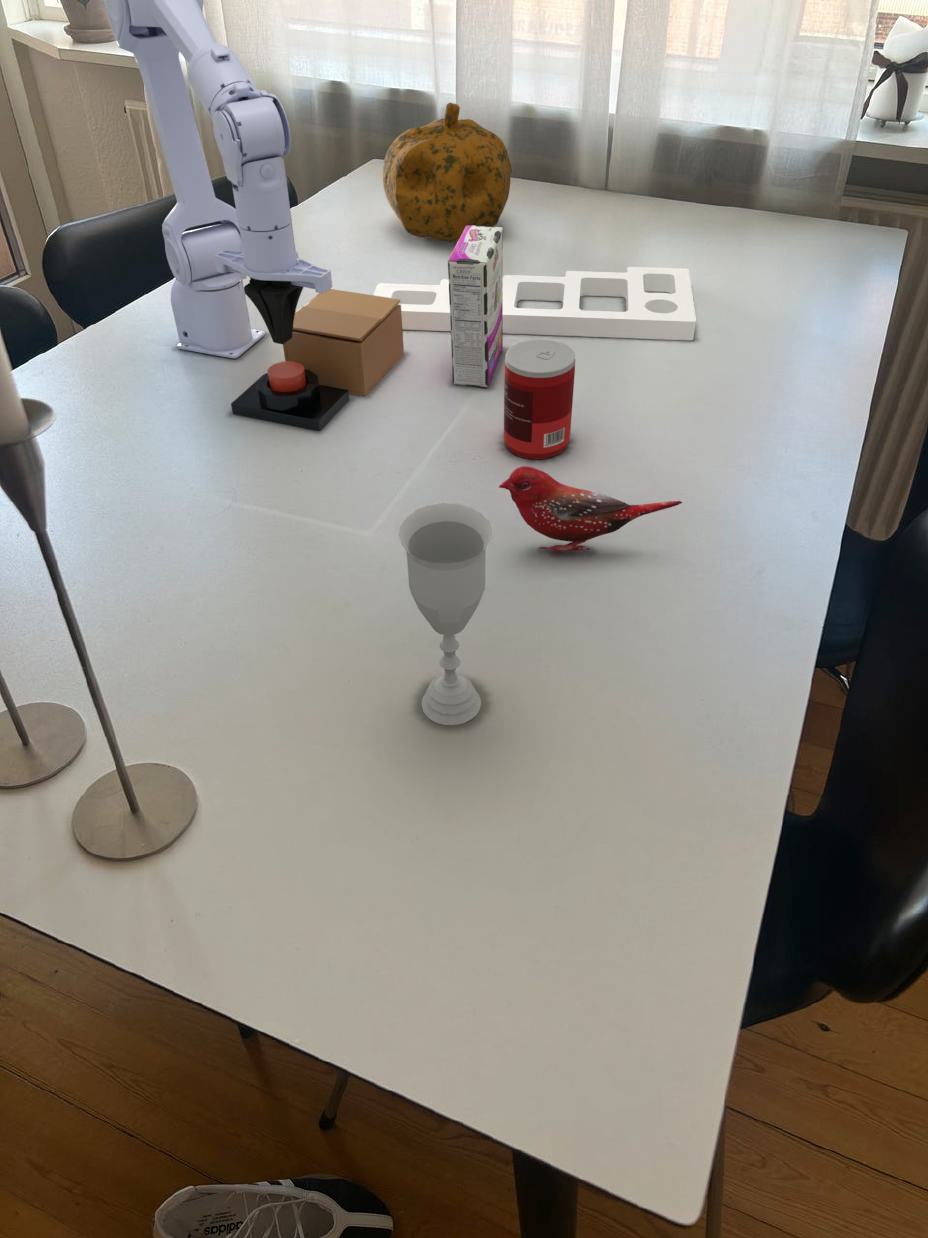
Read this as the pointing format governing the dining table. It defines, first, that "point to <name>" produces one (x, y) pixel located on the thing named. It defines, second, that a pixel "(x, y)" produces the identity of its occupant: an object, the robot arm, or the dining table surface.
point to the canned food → (538, 398)
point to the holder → (569, 304)
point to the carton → (346, 347)
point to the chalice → (447, 594)
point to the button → (287, 376)
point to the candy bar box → (476, 305)
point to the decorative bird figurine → (570, 509)
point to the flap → (354, 303)
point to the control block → (292, 403)
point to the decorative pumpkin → (447, 177)
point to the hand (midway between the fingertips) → (282, 339)
